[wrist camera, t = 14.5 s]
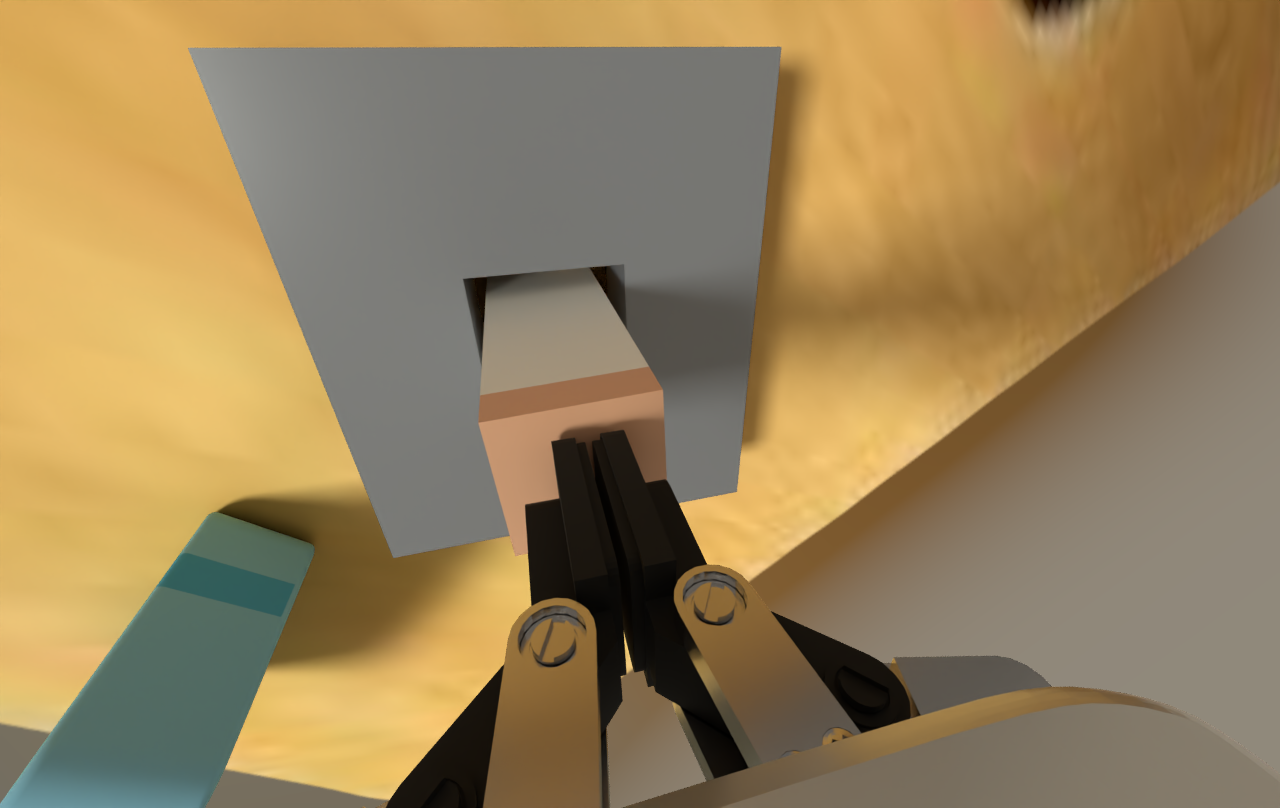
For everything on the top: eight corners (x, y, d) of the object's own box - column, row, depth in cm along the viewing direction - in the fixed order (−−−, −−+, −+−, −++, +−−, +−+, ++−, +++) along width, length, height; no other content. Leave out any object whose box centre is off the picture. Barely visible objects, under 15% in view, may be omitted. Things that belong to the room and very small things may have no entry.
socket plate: (254, 62, 15) (188, 47, 12) (730, 59, 19) (781, 47, 15) (407, 498, 25) (393, 557, 21) (707, 446, 28) (736, 491, 24)
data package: (222, 495, 22) (-3, 806, 12) (324, 531, 25) (205, 820, 15) (113, 654, 25) (-143, 1014, 15) (214, 673, 27) (50, 998, 17)
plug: (487, 269, 20) (478, 422, 10) (583, 257, 21) (662, 389, 11) (506, 357, 22) (515, 555, 12) (593, 343, 23) (668, 520, 13)
